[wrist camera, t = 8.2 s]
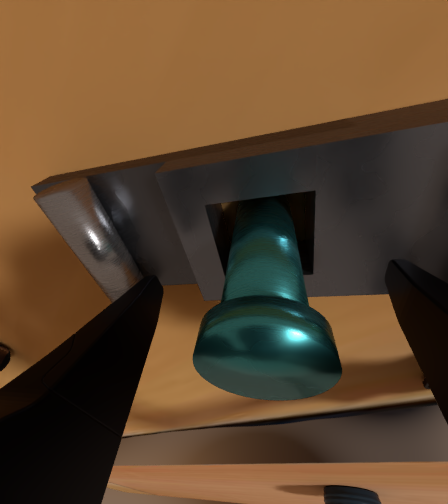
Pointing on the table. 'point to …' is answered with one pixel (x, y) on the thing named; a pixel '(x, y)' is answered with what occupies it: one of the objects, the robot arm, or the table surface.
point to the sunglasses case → (4, 357)
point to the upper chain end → (329, 199)
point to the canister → (349, 495)
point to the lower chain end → (137, 216)
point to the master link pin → (266, 315)
